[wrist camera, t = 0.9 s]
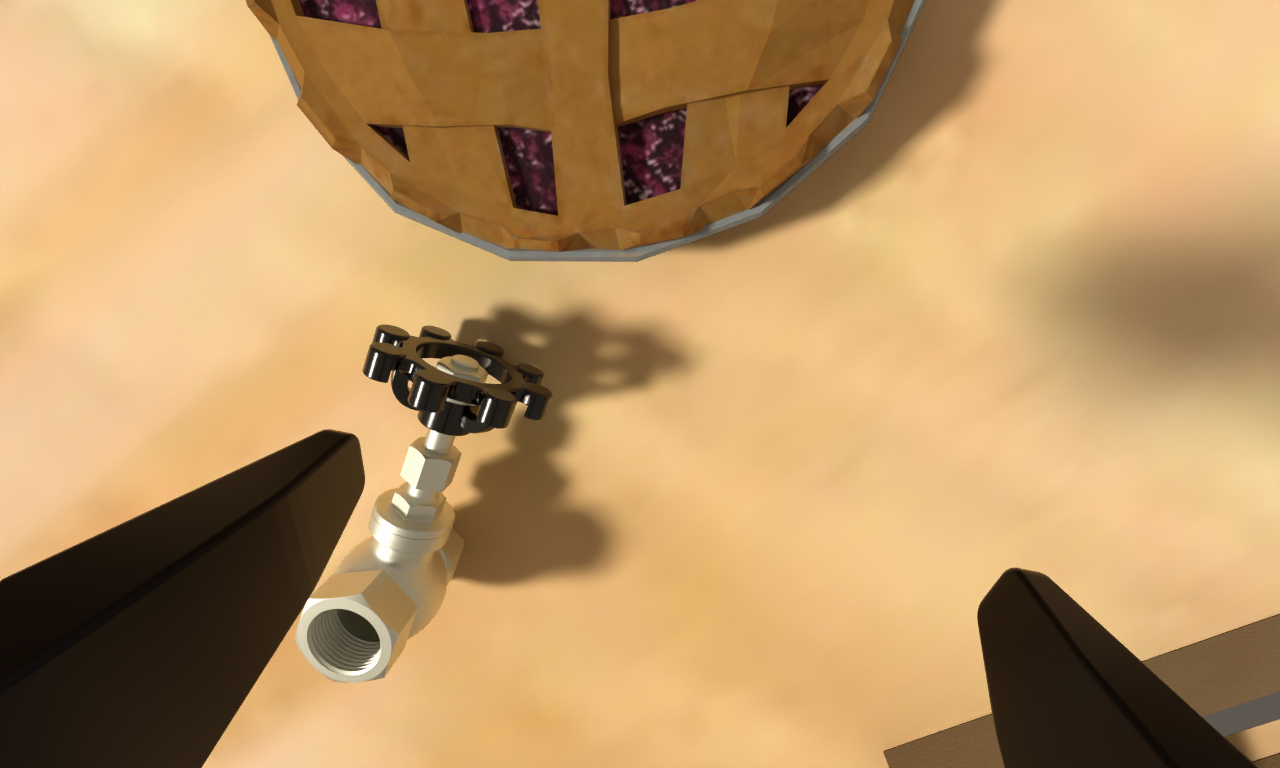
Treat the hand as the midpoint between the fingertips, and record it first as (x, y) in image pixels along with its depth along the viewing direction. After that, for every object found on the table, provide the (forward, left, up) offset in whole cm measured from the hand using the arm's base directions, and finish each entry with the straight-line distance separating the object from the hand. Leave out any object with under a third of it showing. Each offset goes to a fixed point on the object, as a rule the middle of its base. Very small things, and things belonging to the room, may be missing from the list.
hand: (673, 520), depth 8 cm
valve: (-10, +5, -16) cm, 20 cm away
